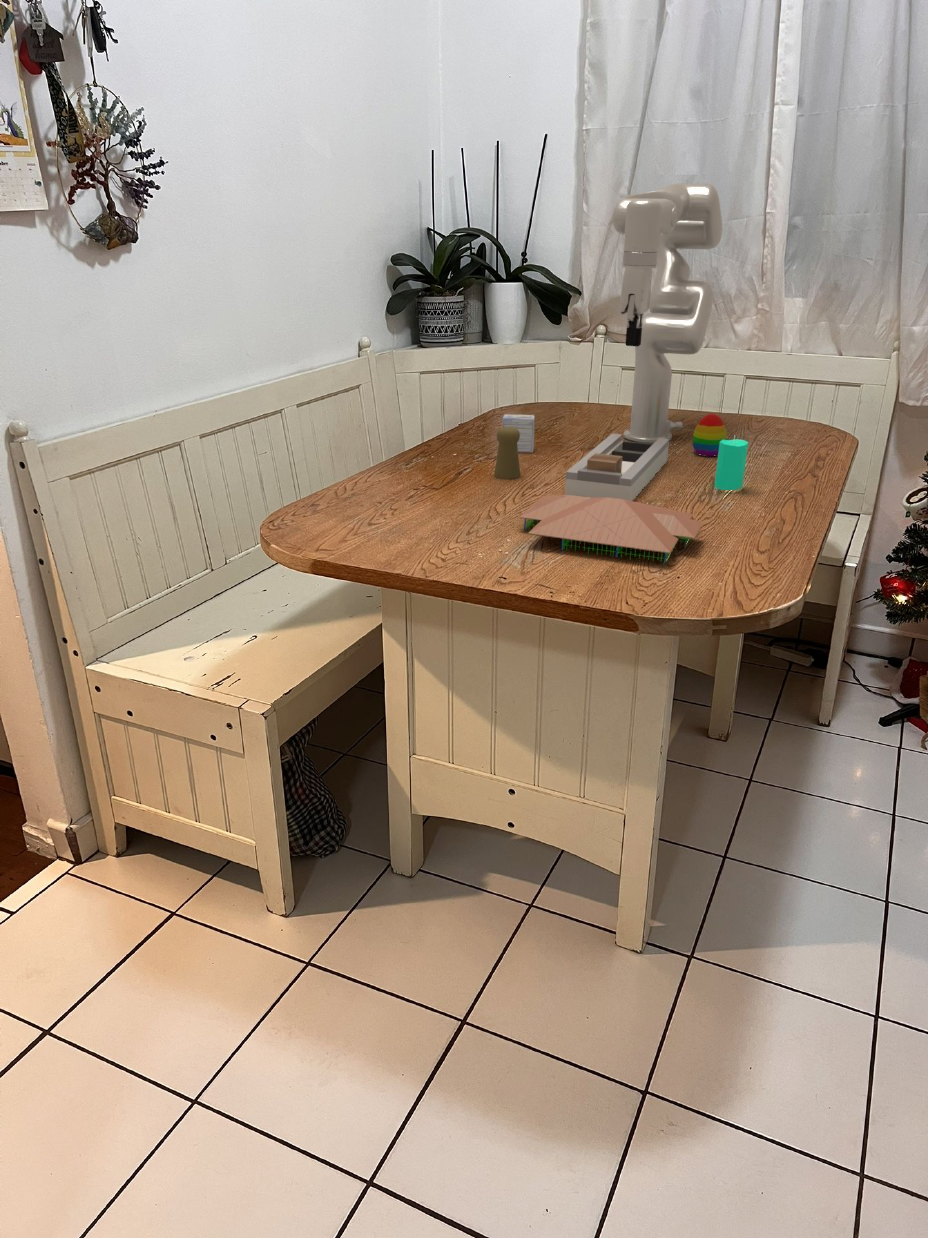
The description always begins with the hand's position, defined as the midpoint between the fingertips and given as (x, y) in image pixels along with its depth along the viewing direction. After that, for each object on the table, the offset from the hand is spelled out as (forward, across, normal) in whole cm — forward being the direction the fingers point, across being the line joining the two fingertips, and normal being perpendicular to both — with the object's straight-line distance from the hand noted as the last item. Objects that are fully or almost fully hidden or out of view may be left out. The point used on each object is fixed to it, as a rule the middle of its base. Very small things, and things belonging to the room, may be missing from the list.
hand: (633, 345), depth 213 cm
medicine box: (+27, +1, -27) cm, 38 cm away
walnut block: (+23, +30, +3) cm, 38 cm away
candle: (+27, +14, +27) cm, 41 cm away
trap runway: (+27, +16, +3) cm, 31 cm away
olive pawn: (+27, +24, -21) cm, 42 cm away
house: (+28, +56, +11) cm, 63 cm away
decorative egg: (+27, -15, +18) cm, 36 cm away
